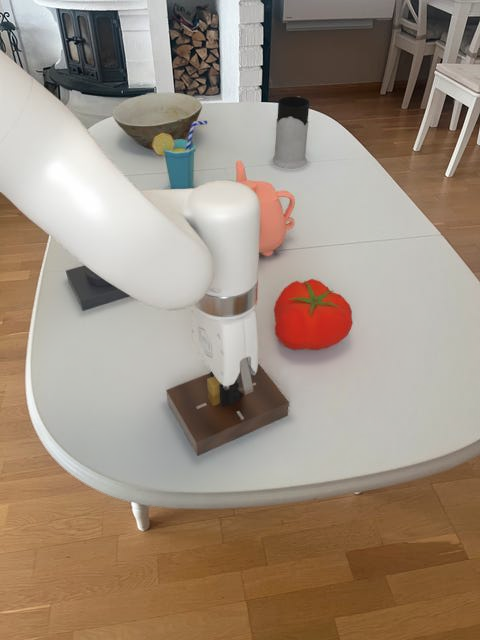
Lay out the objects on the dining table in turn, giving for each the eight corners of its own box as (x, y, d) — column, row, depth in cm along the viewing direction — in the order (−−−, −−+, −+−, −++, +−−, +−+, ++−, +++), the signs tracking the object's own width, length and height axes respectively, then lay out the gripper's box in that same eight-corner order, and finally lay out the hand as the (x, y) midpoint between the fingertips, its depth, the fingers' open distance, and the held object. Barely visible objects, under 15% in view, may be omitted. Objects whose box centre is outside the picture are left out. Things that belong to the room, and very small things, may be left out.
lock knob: (213, 406, 70) (212, 385, 68) (208, 398, 71) (206, 377, 69) (245, 392, 72) (245, 372, 69) (240, 385, 73) (240, 364, 70)
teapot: (191, 249, 104) (187, 187, 95) (237, 214, 115) (237, 155, 106) (260, 276, 98) (263, 212, 89) (302, 236, 108) (308, 175, 99)
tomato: (343, 374, 79) (351, 331, 73) (262, 357, 81) (264, 315, 76) (353, 316, 89) (361, 275, 83) (281, 303, 91) (284, 262, 86)
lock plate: (197, 456, 68) (196, 441, 66) (167, 403, 75) (165, 389, 72) (287, 415, 73) (289, 401, 71) (252, 369, 80) (253, 355, 77)
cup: (199, 174, 129) (196, 113, 119) (218, 185, 125) (216, 123, 115) (151, 190, 123) (143, 127, 113) (169, 203, 118) (163, 138, 108)
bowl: (101, 153, 138) (94, 116, 131) (140, 122, 155) (135, 87, 148) (184, 165, 133) (181, 126, 126) (214, 131, 150) (213, 95, 143)
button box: (82, 310, 90) (78, 292, 87) (67, 280, 96) (63, 262, 94) (148, 290, 94) (145, 272, 91) (129, 262, 101) (126, 245, 98)
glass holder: (269, 166, 133) (272, 106, 123) (279, 144, 143) (283, 87, 133) (303, 169, 131) (309, 109, 121) (311, 147, 142) (317, 90, 132)
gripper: (167, 263, 63) (178, 367, 76) (227, 343, 53) (229, 448, 65) (222, 247, 66) (224, 350, 78) (290, 319, 56) (280, 425, 68)
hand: (226, 394), depth 72 cm, fingers closed
